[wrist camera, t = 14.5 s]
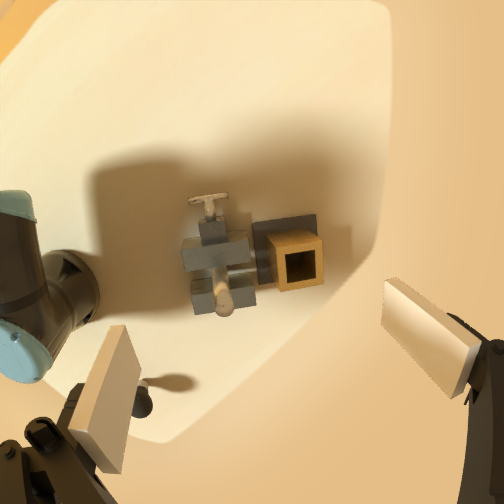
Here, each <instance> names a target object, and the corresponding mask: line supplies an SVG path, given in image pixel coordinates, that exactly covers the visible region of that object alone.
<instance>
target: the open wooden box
mask: <svg viewBox="0 0 504 504" xmlns="http://www.w3.org/2000/svg"><path fill="white" fill-rule="evenodd" d="M265 236H266V245H267V255H268V265H269V273H270V275H271V277H272V278H273V280H274V282H275V284H276V286H277V288H278V289H279V291H280V292H283V291H289V290H294V289H299V288H305V287H310V286H315V285H320V284H324V278H323V248H322V240H321V239H319V238H318V237H317V236H315V235H314V234H313V233H311V232H310V231H309V230H307V229H306V228H302V229H295V230H288V231H281V232H275V233H268V234H265ZM297 252H300V255H301V261H297V262H291V263H285V254H291V253H297Z"/></svg>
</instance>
